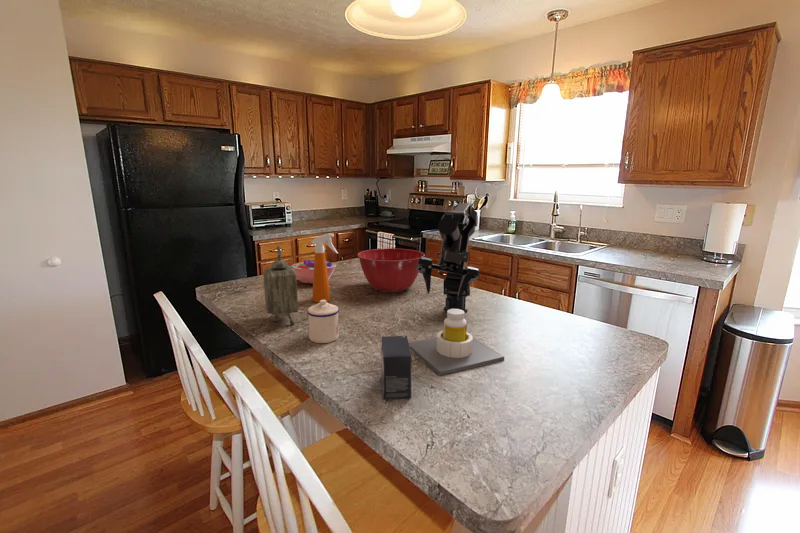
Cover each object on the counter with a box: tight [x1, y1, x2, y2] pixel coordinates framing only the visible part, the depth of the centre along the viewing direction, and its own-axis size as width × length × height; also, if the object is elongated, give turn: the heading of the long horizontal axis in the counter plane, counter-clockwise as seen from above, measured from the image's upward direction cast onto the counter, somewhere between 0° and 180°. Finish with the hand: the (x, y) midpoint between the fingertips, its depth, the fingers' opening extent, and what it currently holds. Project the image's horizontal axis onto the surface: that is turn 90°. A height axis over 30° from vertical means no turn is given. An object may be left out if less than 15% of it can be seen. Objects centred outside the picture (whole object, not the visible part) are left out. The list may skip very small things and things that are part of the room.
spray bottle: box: [310, 232, 339, 304], centre depth 145 cm, size 7×11×26 cm, turn 80°
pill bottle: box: [442, 309, 468, 342], centre depth 104 cm, size 6×6×11 cm
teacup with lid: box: [307, 300, 340, 344], centre depth 114 cm, size 12×9×12 cm
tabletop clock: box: [262, 245, 299, 326], centre depth 124 cm, size 14×9×25 cm, turn 23°
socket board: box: [409, 329, 505, 377], centre depth 105 cm, size 20×18×5 cm
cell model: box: [291, 259, 337, 285], centre depth 172 cm, size 17×20×11 cm
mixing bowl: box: [357, 248, 425, 294], centre depth 164 cm, size 28×28×16 cm
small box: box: [380, 335, 413, 401], centre depth 87 cm, size 11×6×10 cm, turn 5°
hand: (443, 296), depth 114 cm, fingers open, 9 cm apart
